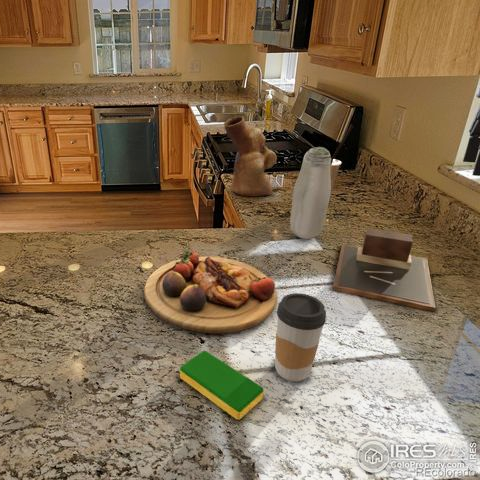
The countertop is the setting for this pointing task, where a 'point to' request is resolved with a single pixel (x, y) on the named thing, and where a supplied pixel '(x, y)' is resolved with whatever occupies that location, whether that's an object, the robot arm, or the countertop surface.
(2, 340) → the countertop surface
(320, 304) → the coffee cup
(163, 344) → the countertop surface
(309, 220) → the glass bottle
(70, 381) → the countertop surface
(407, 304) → the chalkboard
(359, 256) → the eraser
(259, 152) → the ceramic vessel
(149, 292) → the wooden plate
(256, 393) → the dish sponge
